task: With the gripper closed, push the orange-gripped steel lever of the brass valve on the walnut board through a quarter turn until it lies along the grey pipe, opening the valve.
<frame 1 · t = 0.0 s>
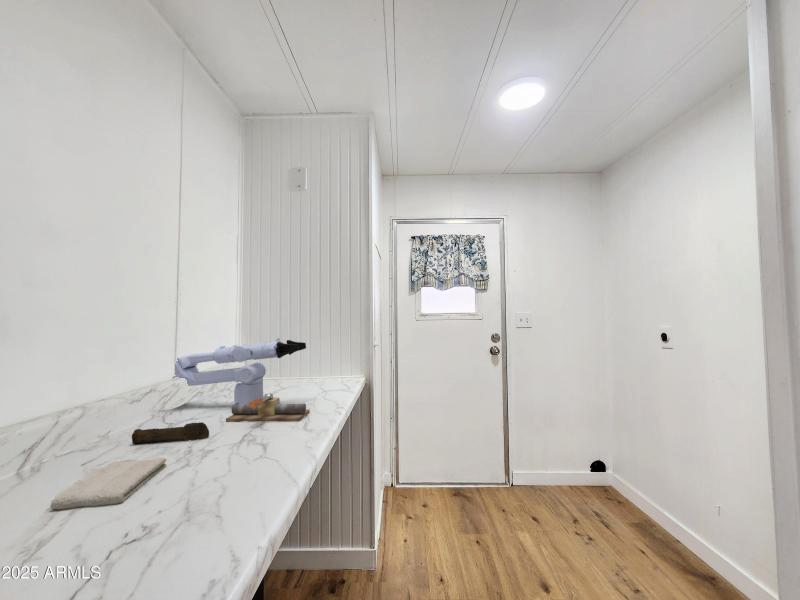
hand: (302, 346, 133), 22 cm above the countertop, tool horizontal, fingers open, 7 cm apart
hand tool: (173, 441, 101), on the countertop
valve board: (269, 416, 120), on the countertop
washcloth: (117, 488, 74), on the countertop
valve lever: (261, 399, 115), point 7 cm above the countertop, hinge at 0.0°
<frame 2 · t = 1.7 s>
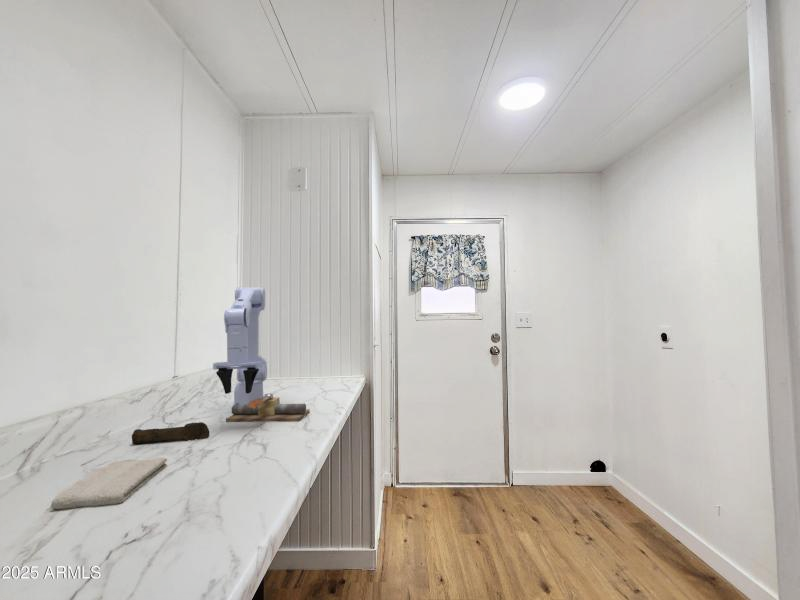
hand: (238, 392, 110), 10 cm above the countertop, tool pointing down, fingers open, 6 cm apart
nothing on the countertop moved.
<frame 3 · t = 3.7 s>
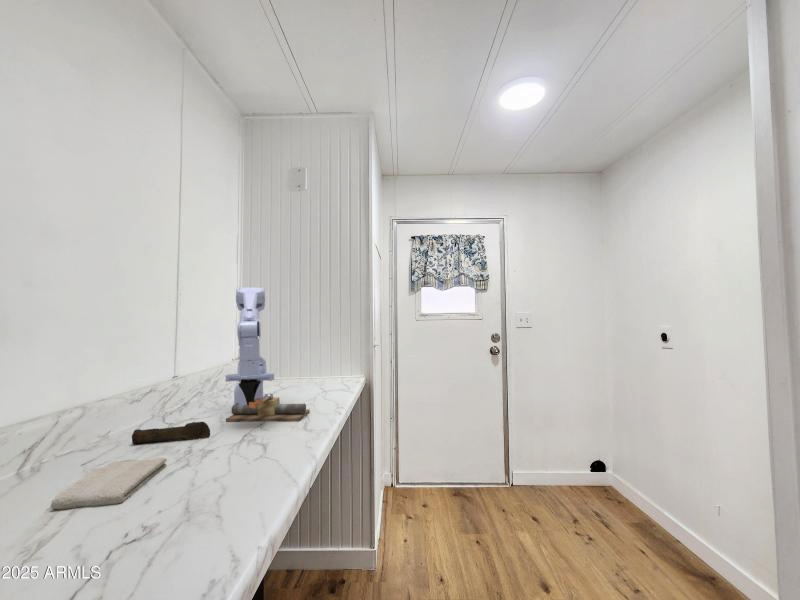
hand: (250, 404, 112), 6 cm above the countertop, tool pointing down, fingers closed
valve lever: (261, 399, 115), point 7 cm above the countertop, hinge at 0.2°, touching gripper
everything else where it was.
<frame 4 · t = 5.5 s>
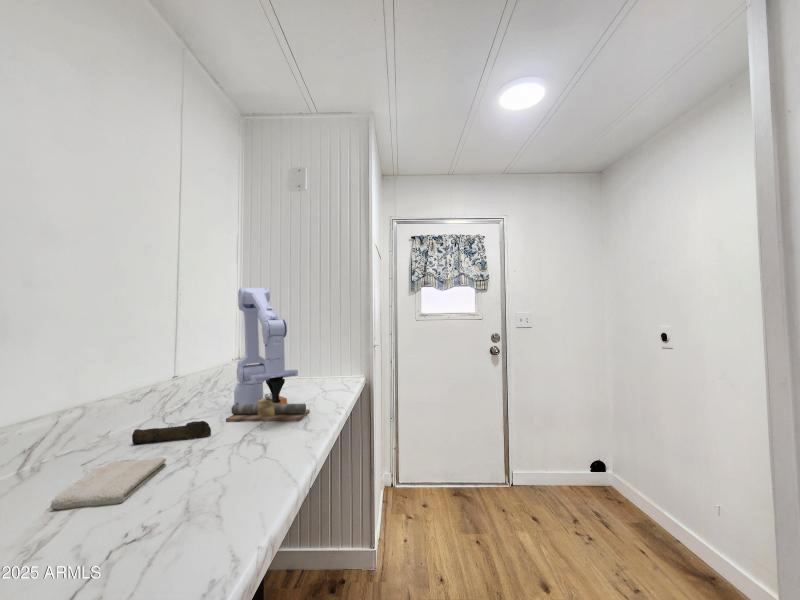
hand: (275, 402, 113), 6 cm above the countertop, tool pointing down, fingers closed, pressing on valve lever
valve lever: (275, 398, 117), point 7 cm above the countertop, hinge at 46.3°, touching gripper
everything else where it was.
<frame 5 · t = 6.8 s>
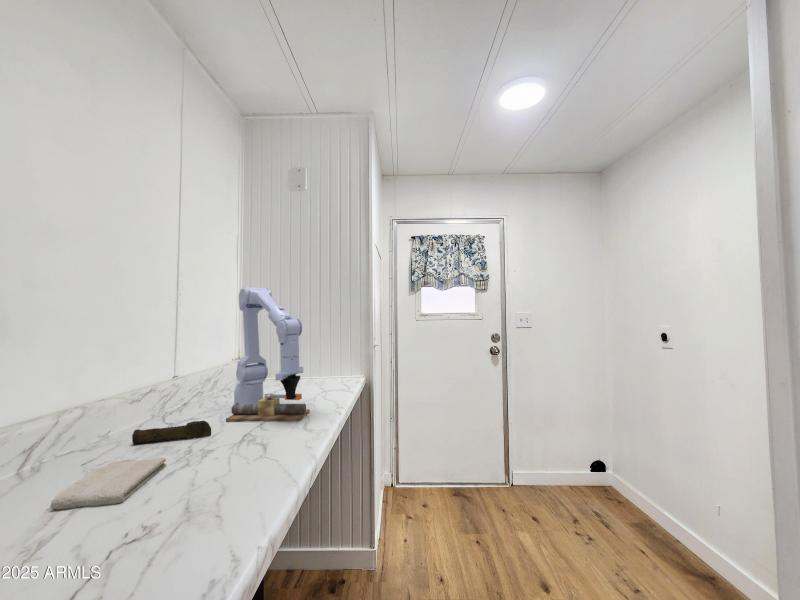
hand: (290, 399, 117), 6 cm above the countertop, tool pointing down, fingers closed, pressing on valve lever
valve lever: (282, 396, 119), point 7 cm above the countertop, hinge at 80.2°, touching gripper
everything else where it was.
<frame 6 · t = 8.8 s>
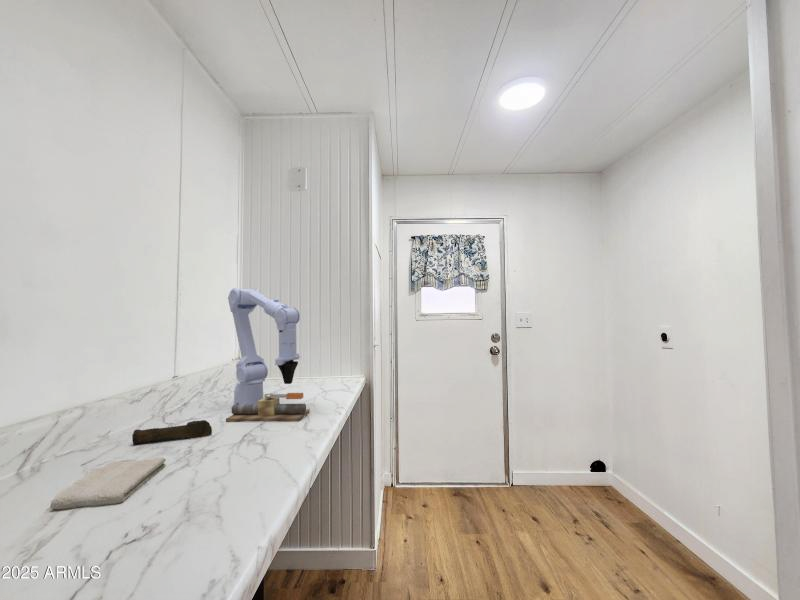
hand: (288, 383, 123), 10 cm above the countertop, tool pointing down, fingers closed
valve lever: (283, 395, 120), point 7 cm above the countertop, hinge at 87.3°
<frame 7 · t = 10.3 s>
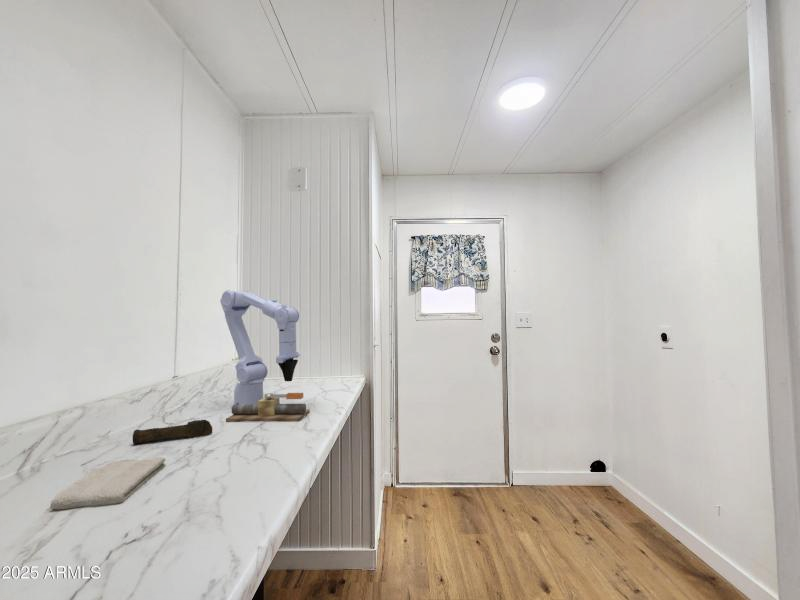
hand: (288, 381, 127), 10 cm above the countertop, tool pointing down, fingers closed
at the end: valve lever at +87° (first picture: +0°) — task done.
